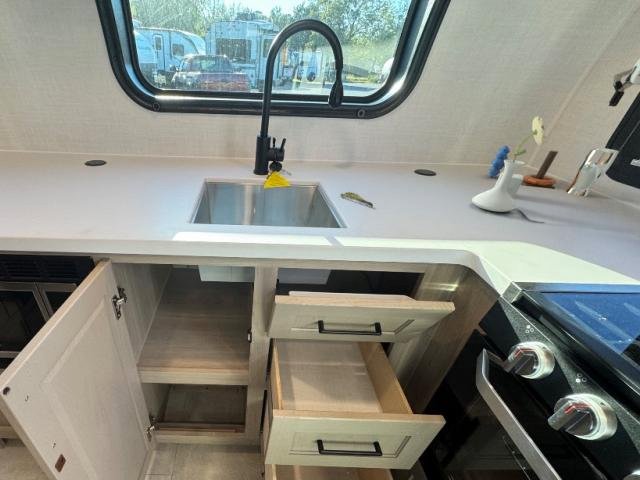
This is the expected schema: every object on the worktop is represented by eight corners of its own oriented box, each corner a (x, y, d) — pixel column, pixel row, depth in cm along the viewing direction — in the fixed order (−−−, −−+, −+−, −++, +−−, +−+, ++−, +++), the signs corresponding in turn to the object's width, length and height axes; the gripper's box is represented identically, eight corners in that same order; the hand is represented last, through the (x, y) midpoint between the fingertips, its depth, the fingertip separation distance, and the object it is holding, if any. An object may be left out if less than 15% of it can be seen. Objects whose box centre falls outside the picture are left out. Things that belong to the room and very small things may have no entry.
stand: (544, 184, 122) (564, 150, 115) (553, 190, 115) (575, 154, 108) (516, 181, 124) (534, 147, 117) (524, 187, 118) (543, 152, 110)
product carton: (511, 196, 108) (523, 174, 104) (511, 201, 104) (524, 178, 100) (490, 193, 111) (501, 171, 106) (490, 197, 107) (501, 175, 102)
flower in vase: (508, 218, 92) (563, 120, 77) (465, 208, 98) (508, 115, 83) (516, 207, 99) (567, 116, 84) (475, 198, 106) (516, 112, 91)
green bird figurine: (369, 208, 96) (371, 201, 94) (337, 197, 105) (338, 191, 104) (378, 206, 97) (380, 199, 96) (346, 195, 107) (347, 189, 105)
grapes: (500, 182, 122) (517, 148, 115) (480, 178, 126) (495, 146, 119) (507, 177, 129) (523, 145, 122) (488, 173, 133) (503, 142, 126)
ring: (548, 181, 121) (551, 175, 120) (558, 188, 114) (561, 182, 113) (519, 178, 124) (522, 172, 123) (526, 184, 117) (530, 178, 115)
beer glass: (593, 200, 107) (626, 152, 98) (570, 198, 108) (601, 151, 99) (578, 193, 113) (608, 148, 104) (557, 192, 114) (585, 147, 105)
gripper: (645, 37, 91) (603, 106, 101) (726, 37, 86) (673, 109, 96) (630, 39, 97) (592, 104, 107) (705, 39, 92) (657, 107, 102)
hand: (630, 107), depth 102 cm, fingers open, 9 cm apart
